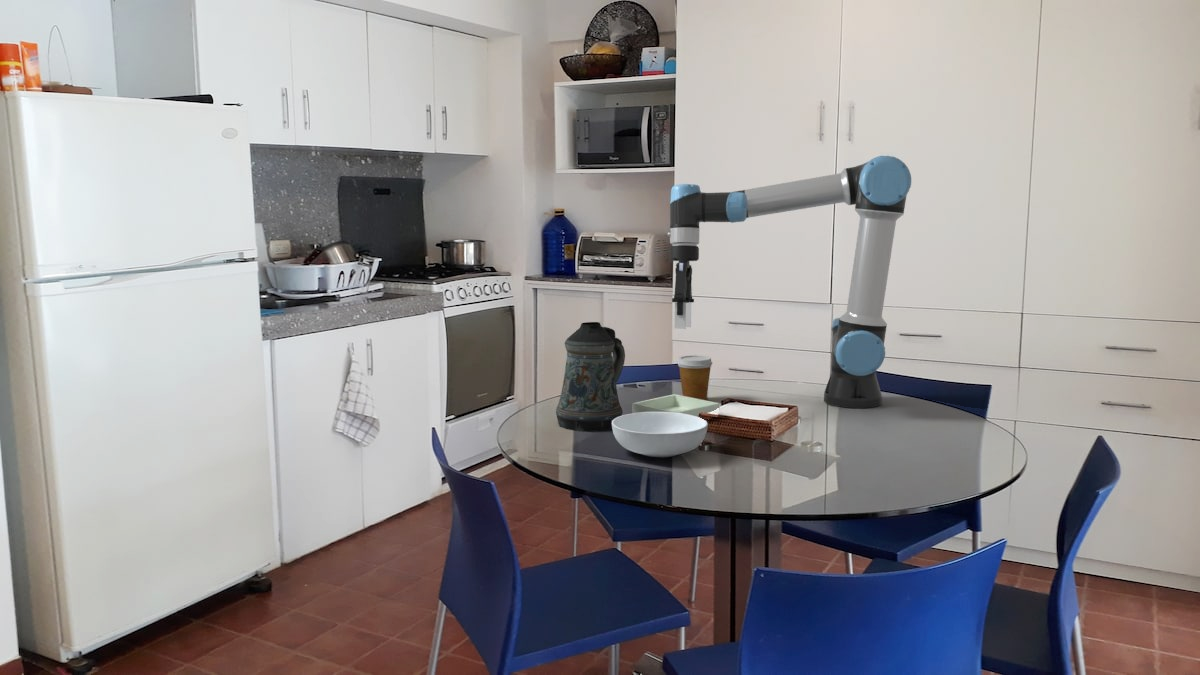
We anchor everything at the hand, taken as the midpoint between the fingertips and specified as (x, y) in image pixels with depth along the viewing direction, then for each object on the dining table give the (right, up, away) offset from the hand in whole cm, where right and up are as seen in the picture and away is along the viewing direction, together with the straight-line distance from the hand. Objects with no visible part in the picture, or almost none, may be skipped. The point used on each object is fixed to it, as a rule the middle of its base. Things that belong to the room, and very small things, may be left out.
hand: (682, 328), depth 230 cm
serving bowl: (-8, -28, -35) cm, 45 cm away
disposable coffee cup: (+5, -20, +15) cm, 25 cm away
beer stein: (-24, -24, -7) cm, 34 cm away
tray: (-2, -23, -3) cm, 23 cm away
